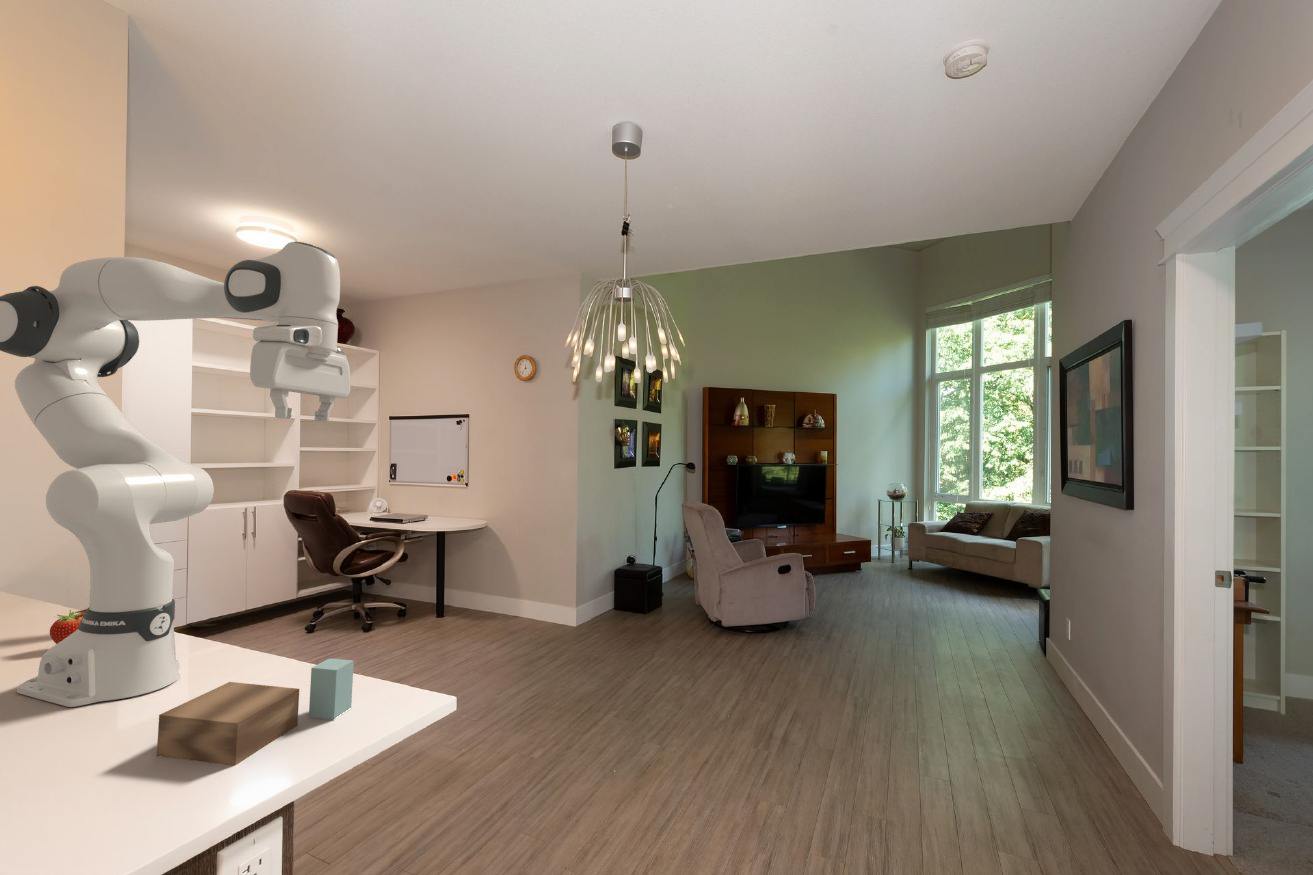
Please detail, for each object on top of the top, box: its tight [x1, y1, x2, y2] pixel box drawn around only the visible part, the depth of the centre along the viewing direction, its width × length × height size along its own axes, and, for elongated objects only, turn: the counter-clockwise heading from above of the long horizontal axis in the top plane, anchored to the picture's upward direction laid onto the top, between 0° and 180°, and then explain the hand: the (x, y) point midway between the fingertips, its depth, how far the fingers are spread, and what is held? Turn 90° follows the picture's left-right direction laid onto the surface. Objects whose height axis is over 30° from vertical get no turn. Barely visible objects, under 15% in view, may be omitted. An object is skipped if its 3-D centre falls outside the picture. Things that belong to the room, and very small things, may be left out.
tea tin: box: [308, 657, 355, 720], centre depth 99 cm, size 4×4×8 cm
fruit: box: [49, 609, 83, 645], centre depth 121 cm, size 5×5×8 cm
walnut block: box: [156, 681, 300, 766], centre depth 89 cm, size 12×12×6 cm
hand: (303, 420), depth 103 cm, fingers open, 8 cm apart
